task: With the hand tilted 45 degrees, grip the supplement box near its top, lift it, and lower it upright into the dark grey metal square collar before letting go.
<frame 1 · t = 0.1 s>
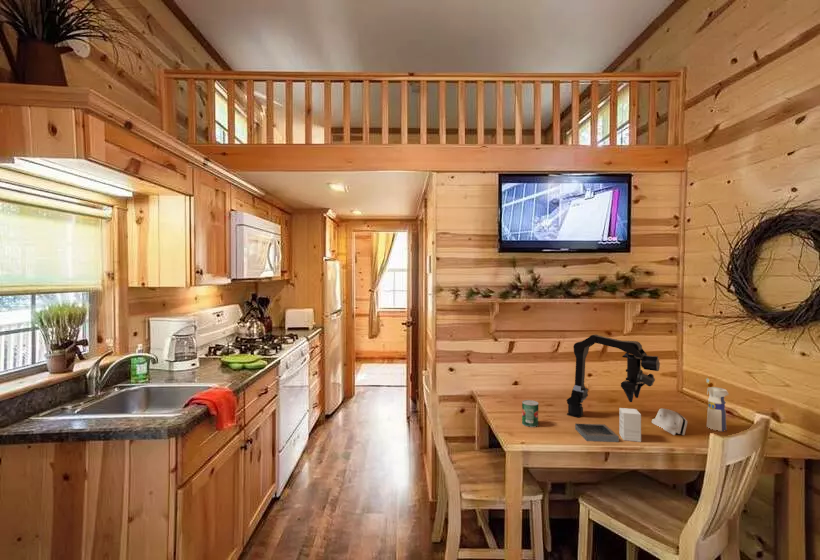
hand: (633, 399, 186), 15 cm above the table, tool pointing down, fingers open, 9 cm apart
supplement box: (629, 438, 177), on the table
white tall bottle: (716, 428, 189), on the table
canned tomato: (530, 424, 193), on the table
square collar: (595, 435, 180), on the table
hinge: (669, 429, 189), on the table
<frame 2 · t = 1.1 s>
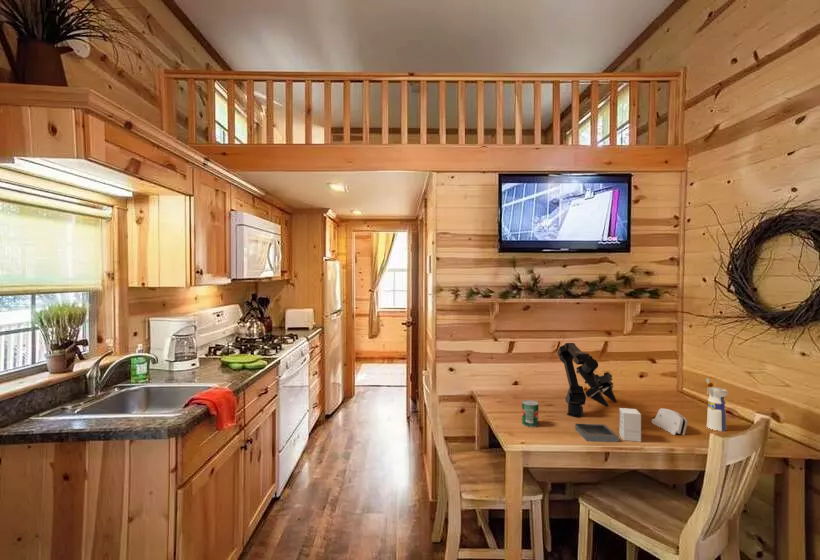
hand: (612, 404, 183), 13 cm above the table, tool tilted 45°, fingers open, 9 cm apart
nothing on the table moved.
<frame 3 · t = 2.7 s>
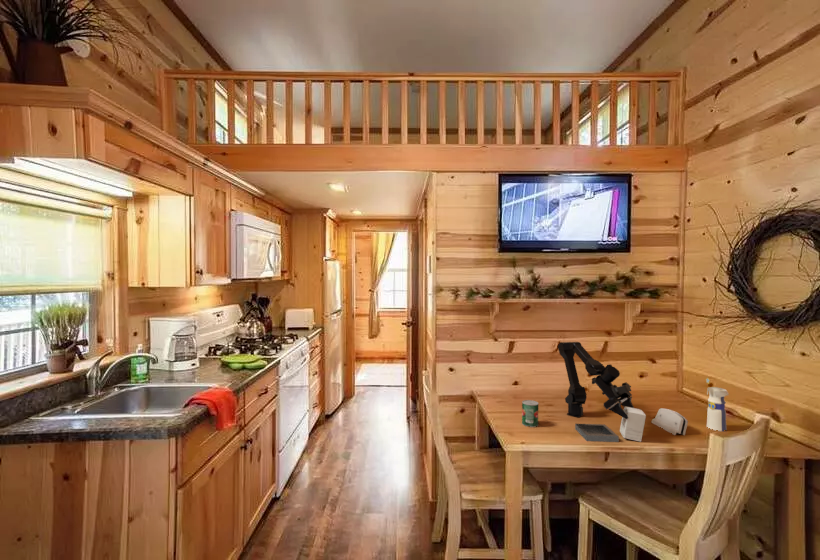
hand: (631, 416, 176), 10 cm above the table, tool tilted 45°, fingers open, 9 cm apart
supplement box: (629, 437, 177), on the table, touching gripper
everything else where it was.
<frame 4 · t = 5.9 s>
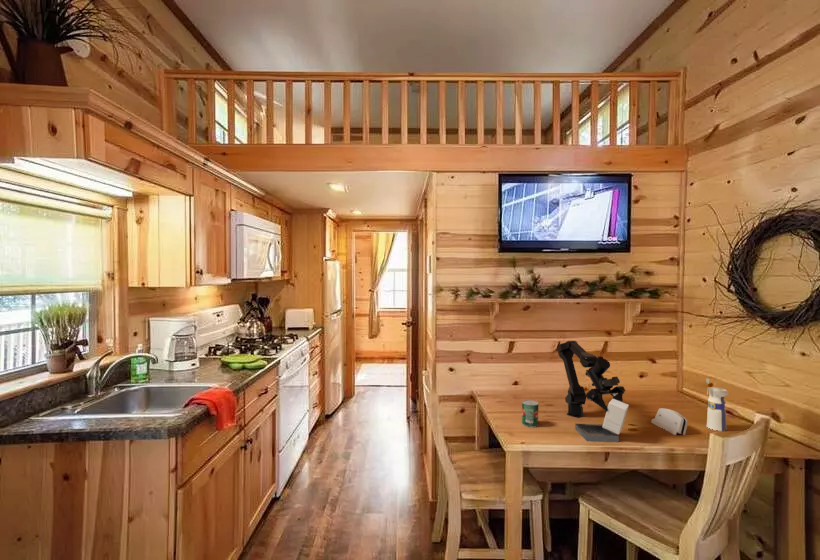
hand: (615, 409, 176), 13 cm above the table, tool tilted 45°, fingers closed on supplement box, 9 cm apart
supplement box: (611, 428, 178), point 4 cm above the table, touching gripper
everything else where it was.
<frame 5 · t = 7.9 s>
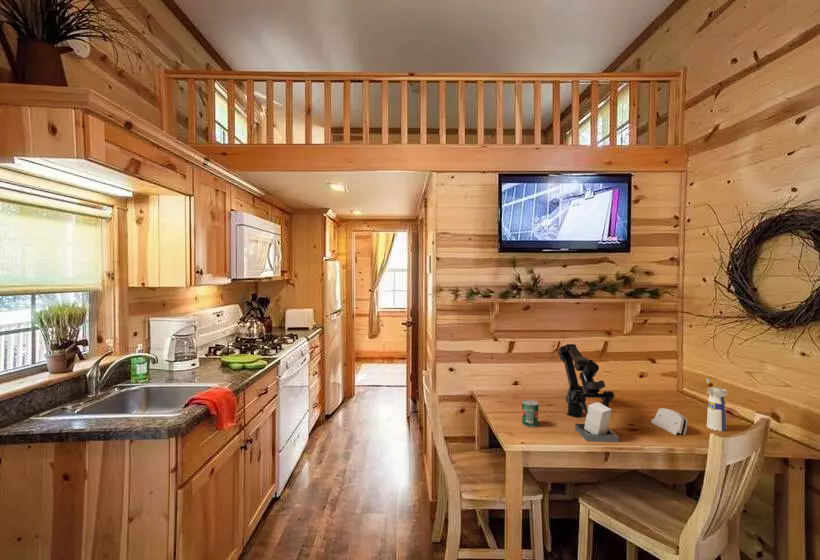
hand: (597, 412, 179), 11 cm above the table, tool tilted 45°, fingers closed on supplement box, 9 cm apart
supplement box: (595, 431, 180), point 2 cm above the table, touching gripper
everything else where it was.
when the fingers open (11 cm above the table, at t = 8.9 s): supplement box drops 1 cm, resting on square collar.
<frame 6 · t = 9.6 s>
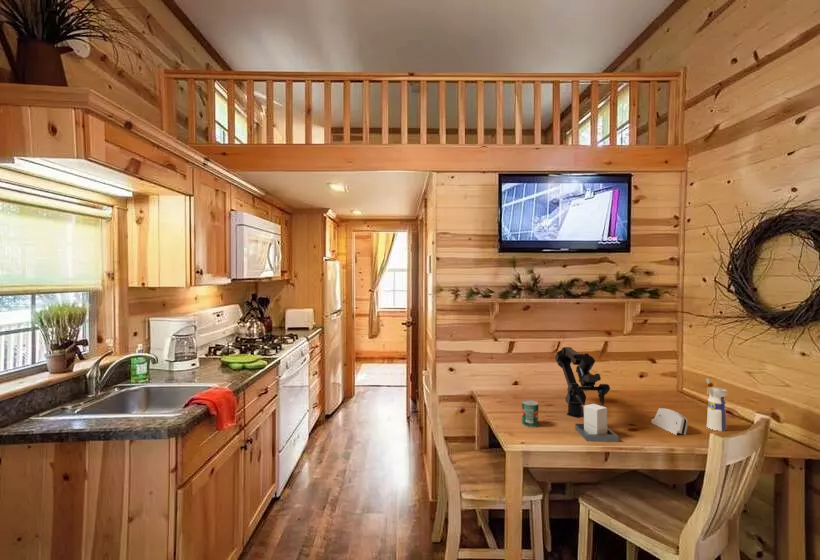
hand: (593, 404, 183), 13 cm above the table, tool tilted 45°, fingers open, 9 cm apart
supplement box: (595, 433, 180), resting on square collar
everything else where it was.
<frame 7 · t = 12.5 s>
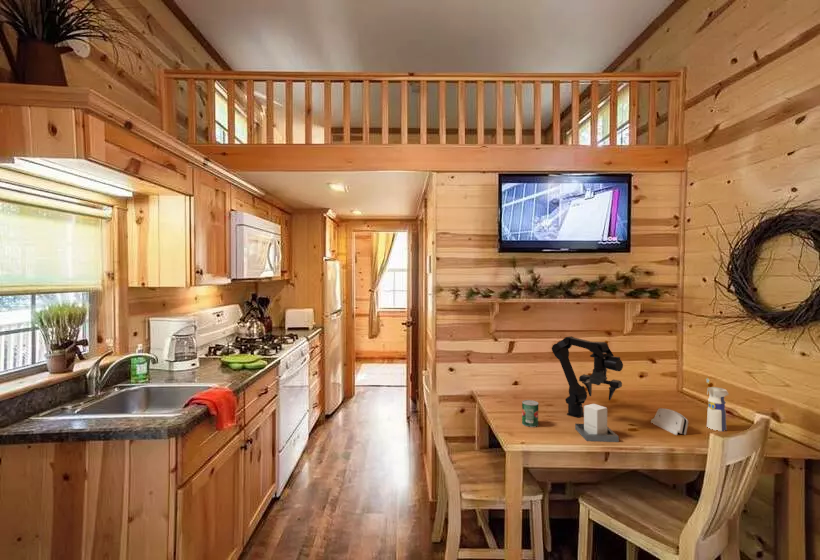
hand: (599, 398, 194), 13 cm above the table, tool pointing down, fingers open, 9 cm apart
nothing on the table moved.
at the end: supplement box 0.4 cm off-centre on the square collar, point 0.4 cm above the square collar's base; supplement box tilted 0°; the gripper is holding nothing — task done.
